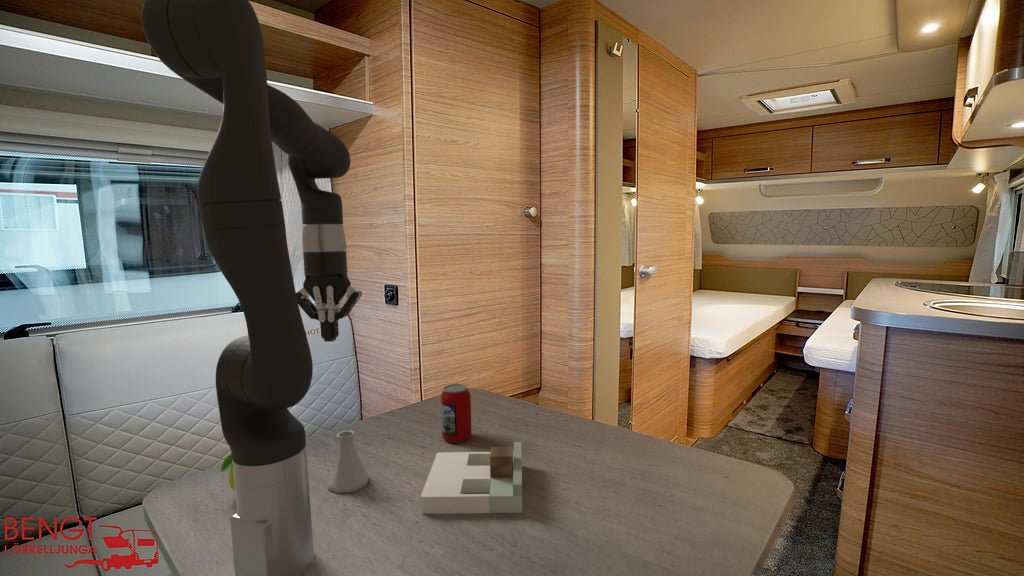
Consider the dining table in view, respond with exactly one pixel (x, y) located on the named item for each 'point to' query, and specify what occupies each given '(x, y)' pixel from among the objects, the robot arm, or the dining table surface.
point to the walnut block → (501, 462)
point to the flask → (347, 466)
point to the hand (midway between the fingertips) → (330, 340)
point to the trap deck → (471, 485)
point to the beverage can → (456, 413)
